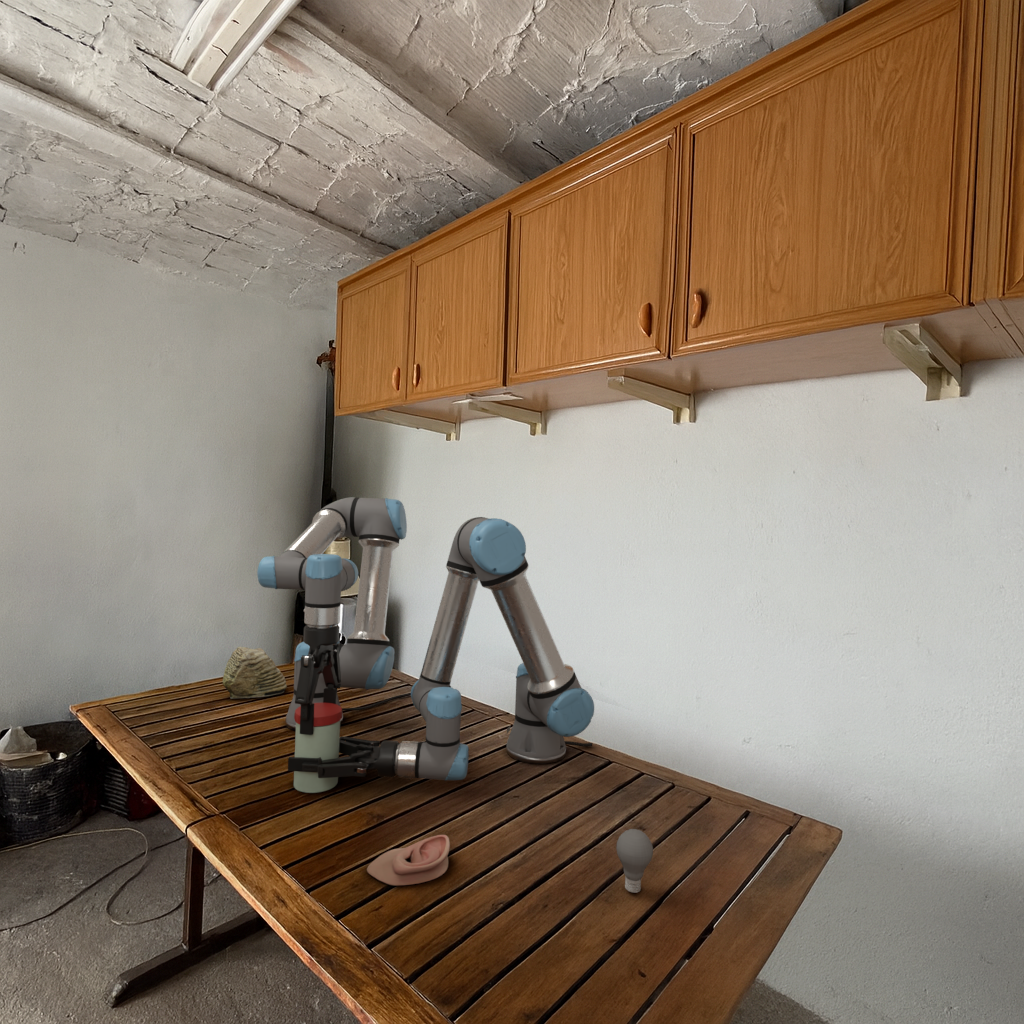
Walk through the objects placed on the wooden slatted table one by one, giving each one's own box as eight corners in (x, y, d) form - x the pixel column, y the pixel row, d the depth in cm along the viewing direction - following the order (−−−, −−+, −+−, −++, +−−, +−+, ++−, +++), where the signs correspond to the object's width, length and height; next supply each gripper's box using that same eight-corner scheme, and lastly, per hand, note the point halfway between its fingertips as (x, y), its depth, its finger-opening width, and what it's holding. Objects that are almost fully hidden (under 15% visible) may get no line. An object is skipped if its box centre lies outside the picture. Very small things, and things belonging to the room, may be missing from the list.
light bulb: (610, 879, 108) (613, 822, 108) (644, 879, 109) (647, 822, 109) (619, 902, 102) (622, 840, 102) (655, 901, 103) (658, 840, 103)
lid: (287, 715, 140) (288, 707, 140) (331, 708, 147) (331, 699, 147) (304, 729, 133) (304, 720, 133) (349, 721, 139) (349, 712, 139)
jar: (287, 780, 141) (290, 709, 140) (327, 770, 147) (330, 702, 146) (302, 796, 133) (305, 722, 133) (344, 785, 139) (347, 714, 139)
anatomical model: (359, 856, 105) (387, 822, 116) (358, 879, 105) (386, 843, 116) (435, 869, 102) (456, 833, 114) (434, 893, 103) (455, 855, 114)
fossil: (218, 695, 195) (220, 647, 195) (278, 685, 208) (279, 640, 207) (228, 703, 189) (230, 653, 188) (289, 692, 201) (290, 645, 201)
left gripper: (329, 614, 151) (325, 707, 151) (279, 633, 129) (275, 742, 129) (358, 617, 150) (355, 710, 150) (313, 636, 128) (309, 746, 128)
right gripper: (386, 799, 129) (277, 794, 129) (406, 755, 151) (312, 751, 151) (388, 763, 129) (278, 757, 129) (407, 724, 151) (313, 720, 151)
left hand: (318, 725), depth 140 cm, fingers closed on lid, 10 cm apart
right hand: (296, 754), depth 140 cm, fingers closed on jar, 9 cm apart
